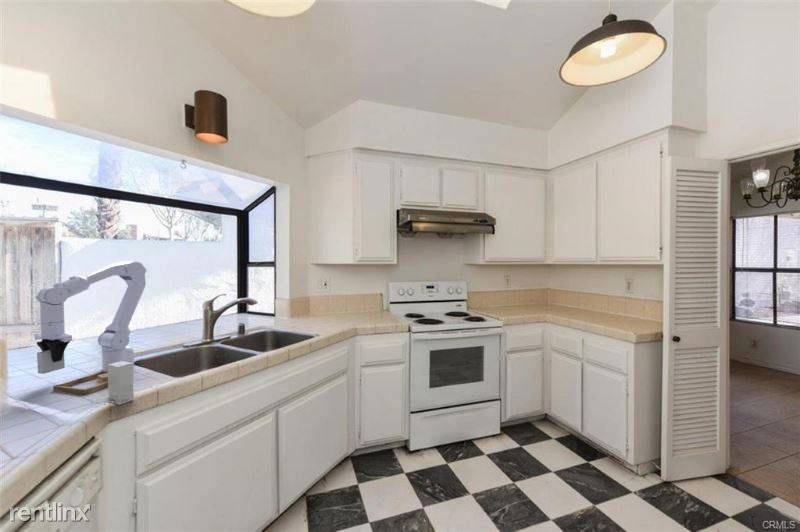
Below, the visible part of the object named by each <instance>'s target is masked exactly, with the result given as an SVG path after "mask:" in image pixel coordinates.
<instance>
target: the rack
mask: <svg viewBox="0 0 800 532" xmlns="http://www.w3.org/2000/svg"><path fill="white" fill-rule="evenodd" d="M105 373H108V371H103V370H102V371H98V372H95V373H92V374H88V375H85V376H82V377H78V378H76V379H73V380H69V381H66V382H65V381H64V382H63V383H59V384H56V385H53V387H52V390H53V392H60V393H66V394H72V395H73V394H74V395H80V396H86V395H89V394H92V393H96V392H97V391H101V390H103V389H106V388H108V382H105V383H98V384H95V385H93V386H91V387H87V388H82V387H81V388H80V387H74V386H77V385H79V384H83V383H86V382H89V381H91V380H95V379H97V375H100V374H105Z"/></svg>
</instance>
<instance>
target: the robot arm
mask: <svg viewBox="0 0 800 532" xmlns="http://www.w3.org/2000/svg"><path fill="white" fill-rule="evenodd" d="M146 272H147V269H146V267H145V266H144V265H143V263H141V262H140V261H136V260H135V261H125V260H121V261H118V262H115V263H112V264H110V265H108V266H105V267H103V268H101V269H99V270H97V271H94V272H92V273H90V274H88V275H85V276H81V275H77V276H75V275H72V276H69V277H68V279H66V280H64V281H62V282H56V283H54V284H53V286H47V287H46V286H45V287H44V288H43V287H42V288H41V289H40V290H39V291H38V293H37V295H36V296H35V298H36V300H37V302H39V304H40V305H39V306H40V308H39V309H40V312H39V313H40V332H39V333H34V340H35V341H36V345H37V347H39V349H40V350H41V352H42V351H47V350H50V352H51V357H52V361H53V362H57V361H61V360H62V357H63V354H64V355H65V351H66V349H67V346H68V345H69V344H70V342H73V335H72V334H68V333H66V332H65V331H66V330H65V327H66V325H65V302H66V301H67V300H68V299H69V298H71V297H74V296H76V295H79V294H81V293H82V292H85V291H87V290H89V288H90V287H91V285H93V284H96V283H98V282H100V281H103V280H105V279H108V278H110V277H114V276H118V277H120V278H121V279H122V280H123V281H124V283H126V285H127V286H126V287H127V288H126V289H125V293H124V294H123V297H122V299H121V301H120V303H119V306H118V308H117V310H116V312H115V315H114V318H113V319H112V321H111V323H110V324H109V325H107V326H106V327H105V329H104V331H103V332H102V333H101V334H100V335H99V336H98V338H97V343H98V345H99V346H100V347H101V367H102V368H101V370H102V371H108V364H112V363H116V362H120V361H125V362H129V363H133V365H135V353H134V352H135V351H134V349H133V348H132V347H131V346H128V344H129V343H130V334H131V330H130V327H129V325H130V323H131V321H132V318H133V316H134V313H135V311H136V309H137V307H138V304H139V302H140V299H141V297H142V294H143V292H144V290H145V289H146V283H147V282H146ZM37 340H41V341H37Z"/></svg>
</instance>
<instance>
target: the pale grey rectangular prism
mask: <svg viewBox="0 0 800 532" xmlns="http://www.w3.org/2000/svg"><path fill="white" fill-rule="evenodd" d="M36 354H37V355H36V357H37V360H36V362H37V374H41V375H45V374H48V373H52V372H55V371H59V370H62V369H65V368H66V367H65V366H66V365H65V353H64V354H63V357H62V360H61V361H57V362H53V361H52V357H51V352H50V350H47V351H42V350H41V351H38V352H36Z"/></svg>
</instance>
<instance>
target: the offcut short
mask: <svg viewBox="0 0 800 532" xmlns="http://www.w3.org/2000/svg"><path fill="white" fill-rule="evenodd" d="M96 379H97V382H98V383H100V382H101V383H100V384H102V383H105V382H108V373H105V374H100V375H97V378H96Z"/></svg>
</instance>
